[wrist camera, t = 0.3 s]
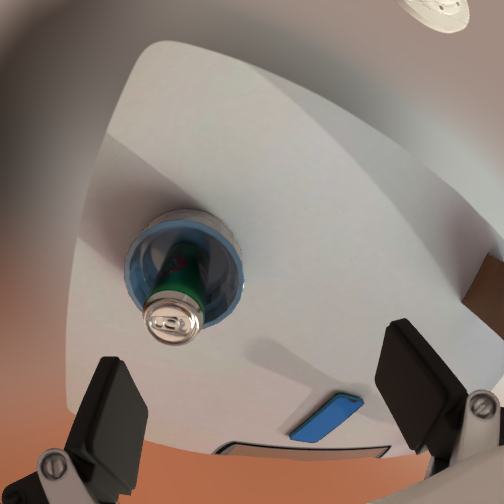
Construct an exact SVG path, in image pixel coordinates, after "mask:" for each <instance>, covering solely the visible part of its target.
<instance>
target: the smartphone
mask: <svg viewBox="0 0 504 504" xmlns="http://www.w3.org/2000/svg"><path fill="white" fill-rule="evenodd" d="M363 404H364V401H363V399H360V398H356V397H352V396H348V395H344V394H338V395H336V396H335V397H334V398H332V399H331V400H330V401H329V402H328V403H327V404H326V405H325V406H324V407H322V408H321V409H320V410H319V411H318V412H317V413H316V414H314V415H313V416H312V417H311V418H310V419H309V420H307V421H306V422H305V423H304V424H303V425H301V426H300V427H299V428H298V429H296V430H295V431H294V432H293V433H291V434H290V435H289V438H290V440H295V441H301V442H308V443H316V442H318V441H319V440H321V439H322V438H323V437H325V436H326V435H327V434H329V433H330V432H331V431H332V430H334V429H335V428H336V427H338V426H339V425H340V424H341V423H342V422H344V421H345V420H346V419H347V418H349V417H350V416H351V415H352V414H353V413H354V412H356V411H357V410H358V409H359V408H360V407H361V406H362V405H363Z"/></svg>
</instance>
